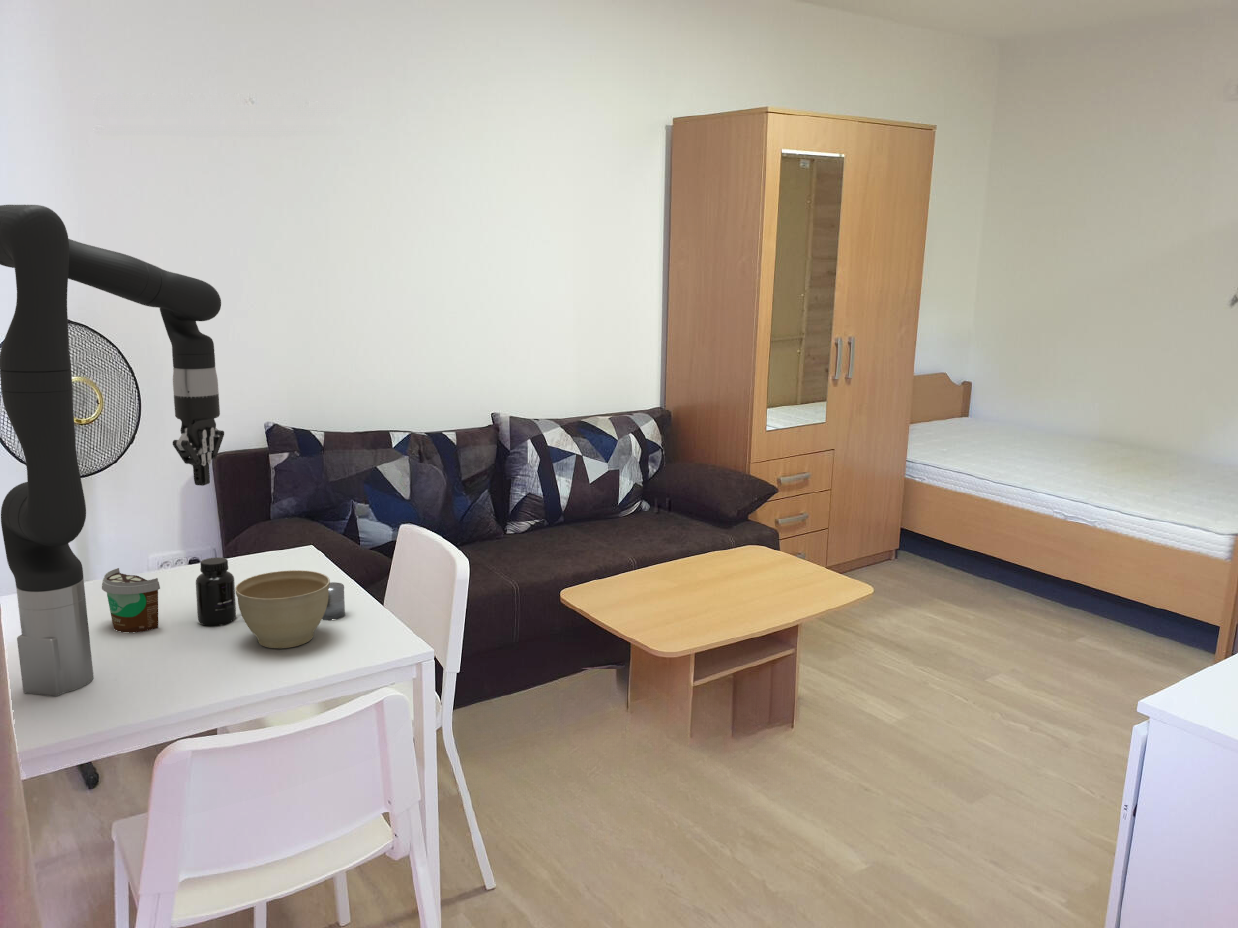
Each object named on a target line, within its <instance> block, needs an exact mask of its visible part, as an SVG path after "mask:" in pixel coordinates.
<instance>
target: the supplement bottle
mask: <svg viewBox="0 0 1238 928" xmlns="http://www.w3.org/2000/svg"><path fill="white" fill-rule="evenodd" d="M199 563H200V572H201V574H199V575H198V576H197V577H196V579H195V594H196V609H197V610H196V611H197V621H198V623H199V624H200V625H202V626H205V627H218V626H224V625H228V624H230V623H232V622H234V620H236V617H237V607H236V591H235V588H236V585H235V584H236V583H235V576H234V575H233V573H232V572H230V571H229V560H228V559H227V558H225V557H208V558H205V559H202V560H201V561H200V562H199Z"/></svg>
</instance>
